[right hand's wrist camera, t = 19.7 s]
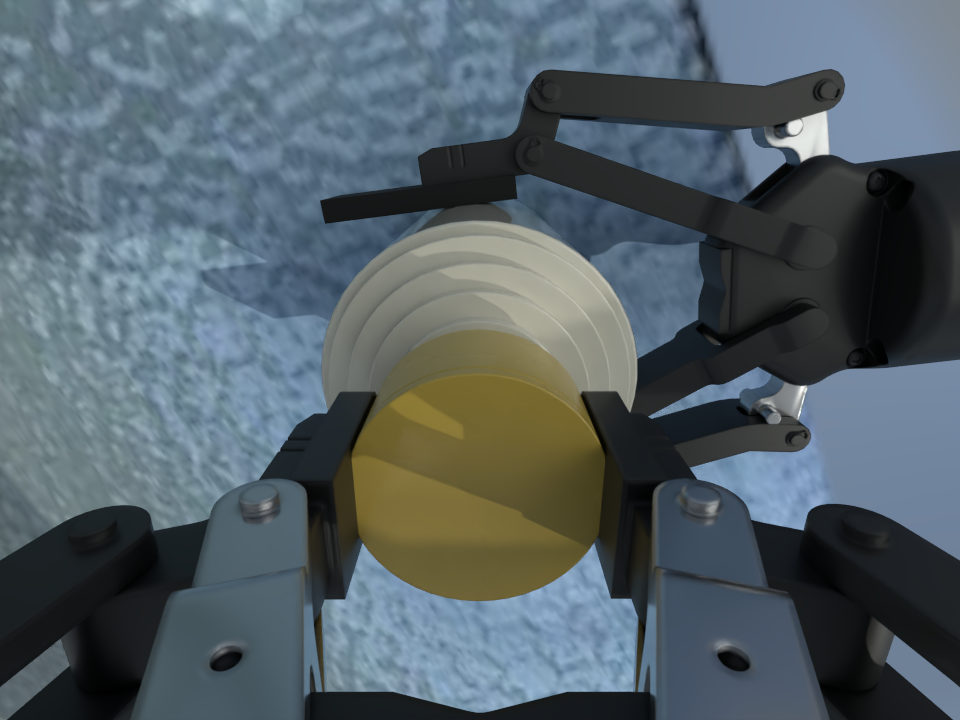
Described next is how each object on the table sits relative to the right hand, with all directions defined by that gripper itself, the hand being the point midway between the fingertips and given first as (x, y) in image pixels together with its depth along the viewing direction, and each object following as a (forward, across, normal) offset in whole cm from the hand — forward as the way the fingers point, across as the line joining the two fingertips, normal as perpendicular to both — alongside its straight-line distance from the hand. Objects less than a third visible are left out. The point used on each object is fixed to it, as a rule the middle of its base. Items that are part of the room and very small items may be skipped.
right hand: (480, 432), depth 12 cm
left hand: (+10, -5, -1) cm, 11 cm away
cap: (-2, 0, 0) cm, 2 cm away
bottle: (+16, 0, 0) cm, 16 cm away
